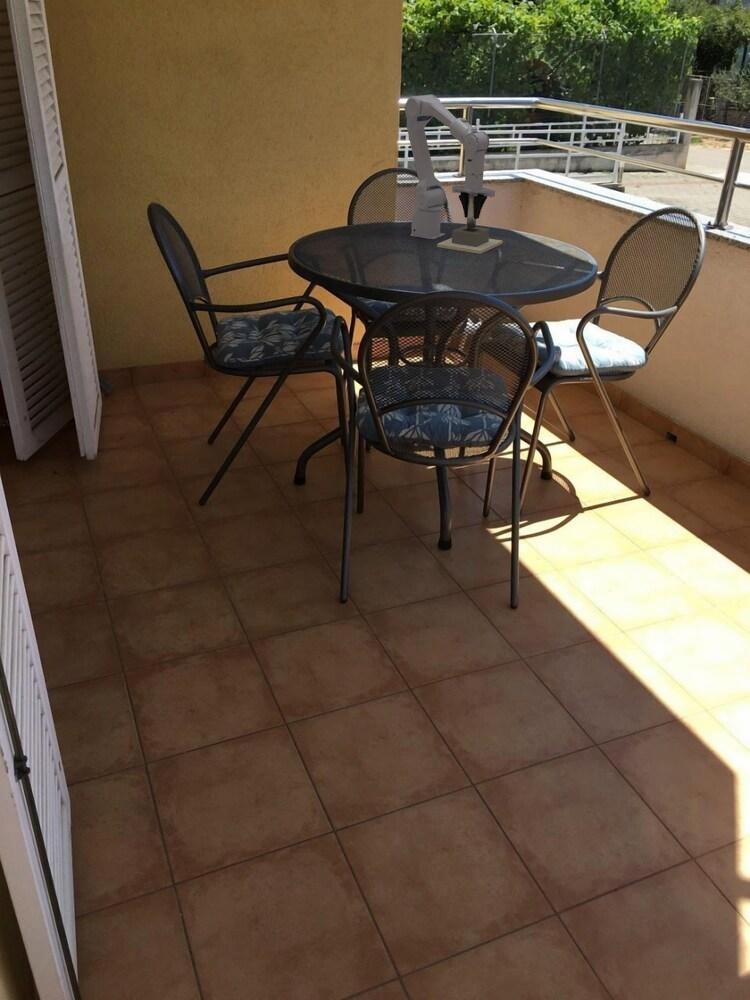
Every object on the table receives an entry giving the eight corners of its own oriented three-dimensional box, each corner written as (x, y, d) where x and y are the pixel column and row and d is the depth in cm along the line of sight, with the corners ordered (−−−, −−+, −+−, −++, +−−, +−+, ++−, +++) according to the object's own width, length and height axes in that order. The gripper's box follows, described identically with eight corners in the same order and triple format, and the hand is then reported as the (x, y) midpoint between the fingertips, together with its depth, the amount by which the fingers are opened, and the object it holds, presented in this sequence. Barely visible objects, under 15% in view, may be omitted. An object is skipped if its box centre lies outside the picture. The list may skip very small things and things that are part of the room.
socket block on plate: (437, 246, 273) (437, 231, 271) (460, 237, 285) (461, 222, 282) (480, 254, 266) (481, 238, 263) (502, 243, 277) (503, 228, 275)
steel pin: (464, 227, 272) (466, 195, 267) (469, 225, 274) (471, 193, 269) (472, 228, 270) (474, 196, 265) (477, 226, 272) (479, 194, 267)
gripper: (448, 173, 264) (446, 217, 271) (489, 177, 257) (486, 222, 264) (458, 170, 269) (456, 213, 276) (499, 174, 262) (495, 218, 269)
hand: (471, 217), depth 271 cm, fingers closed on steel pin, 3 cm apart
